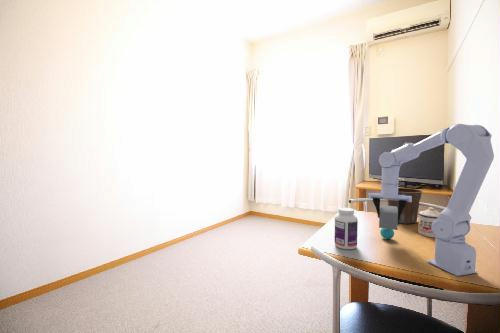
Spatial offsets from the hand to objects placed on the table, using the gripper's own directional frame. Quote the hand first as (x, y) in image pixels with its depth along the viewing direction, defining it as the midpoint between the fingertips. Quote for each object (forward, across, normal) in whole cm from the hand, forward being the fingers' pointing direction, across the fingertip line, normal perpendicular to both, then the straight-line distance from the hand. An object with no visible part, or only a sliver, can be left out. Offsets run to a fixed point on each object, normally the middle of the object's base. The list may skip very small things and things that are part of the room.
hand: (388, 218), depth 97 cm
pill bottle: (+10, +14, +11) cm, 20 cm away
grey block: (+2, 0, 0) cm, 2 cm away
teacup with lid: (+10, -17, -20) cm, 28 cm away
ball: (+8, 0, -6) cm, 9 cm away
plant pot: (+10, -6, -38) cm, 40 cm away
